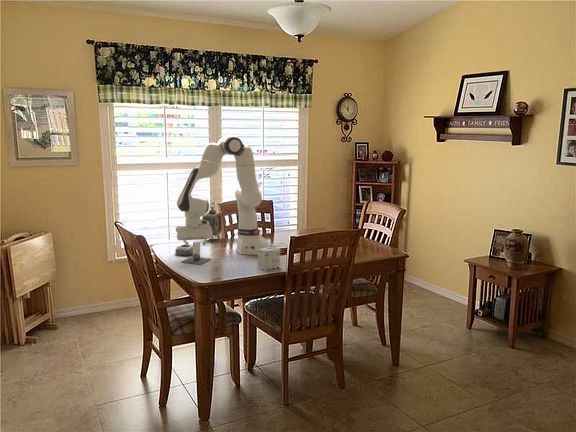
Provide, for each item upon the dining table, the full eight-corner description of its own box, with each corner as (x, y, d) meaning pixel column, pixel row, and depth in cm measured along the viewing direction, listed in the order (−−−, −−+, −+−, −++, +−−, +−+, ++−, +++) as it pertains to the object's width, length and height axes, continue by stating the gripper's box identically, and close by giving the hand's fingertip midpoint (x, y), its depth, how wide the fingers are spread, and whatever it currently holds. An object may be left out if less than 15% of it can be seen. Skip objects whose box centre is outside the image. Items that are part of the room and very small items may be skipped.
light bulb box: (272, 265, 281) (273, 246, 279) (280, 267, 276) (280, 248, 274) (257, 268, 274) (257, 248, 272) (264, 271, 269) (264, 251, 267)
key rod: (201, 259, 286) (201, 242, 284) (198, 261, 282) (197, 243, 281) (195, 258, 287) (195, 241, 286) (191, 260, 284) (191, 242, 282)
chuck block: (199, 252, 304) (199, 245, 304) (189, 257, 293) (189, 249, 292) (182, 250, 308) (182, 243, 307) (171, 254, 297) (171, 247, 296)
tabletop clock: (214, 242, 331) (214, 204, 327) (201, 241, 333) (201, 203, 329) (221, 237, 345) (221, 201, 341) (209, 236, 347) (209, 200, 343)
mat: (211, 259, 289) (211, 258, 288) (200, 264, 277) (200, 263, 277) (192, 257, 292) (192, 256, 292) (181, 262, 281) (181, 261, 281)
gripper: (175, 222, 290) (177, 243, 283) (211, 221, 296) (214, 241, 289) (175, 228, 295) (176, 249, 288) (210, 227, 301) (213, 247, 294)
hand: (195, 245), depth 288 cm, fingers open, 8 cm apart
